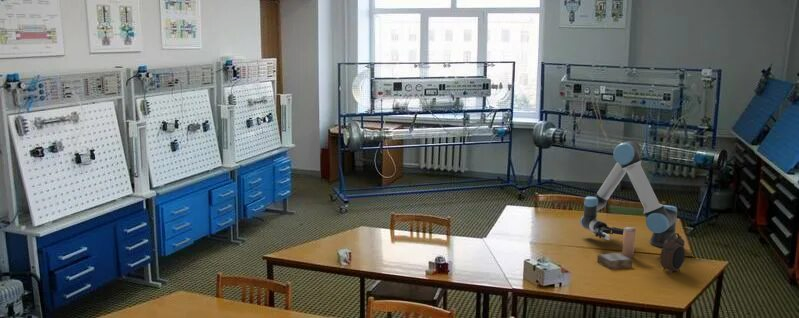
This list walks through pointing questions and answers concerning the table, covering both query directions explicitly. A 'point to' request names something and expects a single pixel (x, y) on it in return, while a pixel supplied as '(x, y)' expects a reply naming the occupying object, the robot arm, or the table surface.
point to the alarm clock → (673, 253)
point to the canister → (628, 242)
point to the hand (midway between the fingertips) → (619, 237)
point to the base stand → (614, 260)
